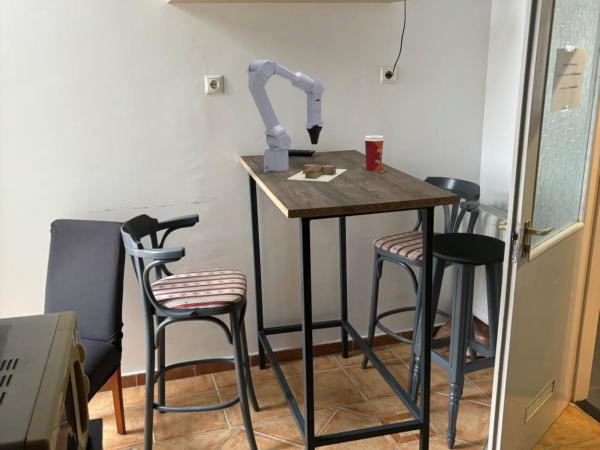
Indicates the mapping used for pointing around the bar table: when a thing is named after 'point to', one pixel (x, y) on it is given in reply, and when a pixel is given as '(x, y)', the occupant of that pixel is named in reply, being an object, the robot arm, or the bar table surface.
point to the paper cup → (373, 152)
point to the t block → (318, 170)
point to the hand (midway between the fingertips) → (314, 144)
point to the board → (322, 178)
